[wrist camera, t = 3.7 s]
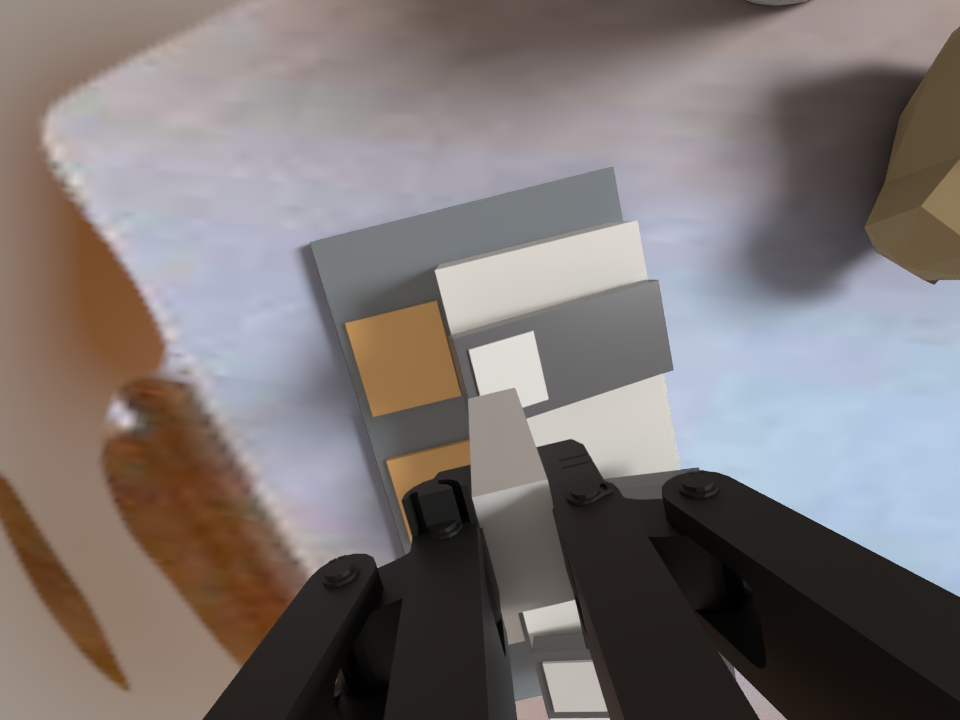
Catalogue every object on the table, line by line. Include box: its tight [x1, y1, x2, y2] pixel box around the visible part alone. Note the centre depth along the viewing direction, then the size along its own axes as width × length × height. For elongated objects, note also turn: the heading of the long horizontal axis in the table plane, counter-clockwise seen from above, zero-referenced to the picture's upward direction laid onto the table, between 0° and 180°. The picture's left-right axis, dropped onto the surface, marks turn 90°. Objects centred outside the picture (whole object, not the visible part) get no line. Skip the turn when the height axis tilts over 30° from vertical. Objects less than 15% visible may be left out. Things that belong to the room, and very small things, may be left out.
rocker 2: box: [531, 634, 736, 719], centre depth 29 cm, size 10×4×1 cm, turn 104°
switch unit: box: [310, 167, 680, 720], centre depth 32 cm, size 18×34×8 cm, turn 14°
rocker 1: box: [448, 280, 673, 419], centre depth 25 cm, size 10×4×1 cm, turn 103°
